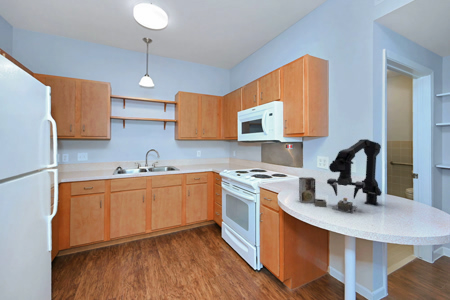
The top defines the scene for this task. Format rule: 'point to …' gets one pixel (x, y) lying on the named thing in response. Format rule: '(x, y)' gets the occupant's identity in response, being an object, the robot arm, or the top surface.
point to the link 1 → (320, 203)
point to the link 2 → (345, 205)
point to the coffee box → (306, 189)
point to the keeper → (345, 209)
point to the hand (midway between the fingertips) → (345, 197)
